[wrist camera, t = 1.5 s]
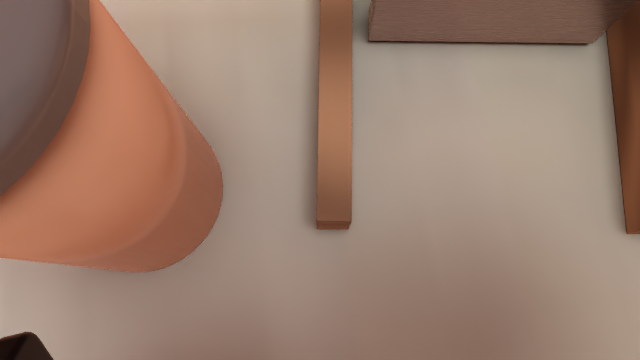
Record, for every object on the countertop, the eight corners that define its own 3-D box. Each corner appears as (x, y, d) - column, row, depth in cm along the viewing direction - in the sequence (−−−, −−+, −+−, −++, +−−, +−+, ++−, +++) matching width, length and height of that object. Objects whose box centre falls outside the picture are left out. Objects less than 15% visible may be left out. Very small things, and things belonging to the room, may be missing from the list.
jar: (205, 293, 21) (-51, 293, 6) (34, 259, 21) (-571, 187, 7) (244, 125, 22) (103, -181, 8) (83, 95, 22) (-335, -250, 8)
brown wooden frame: (658, 234, 21) (820, 205, 14) (317, 229, 21) (315, 197, 14) (624, -68, 24) (746, -215, 17) (322, -71, 24) (322, -219, 17)
